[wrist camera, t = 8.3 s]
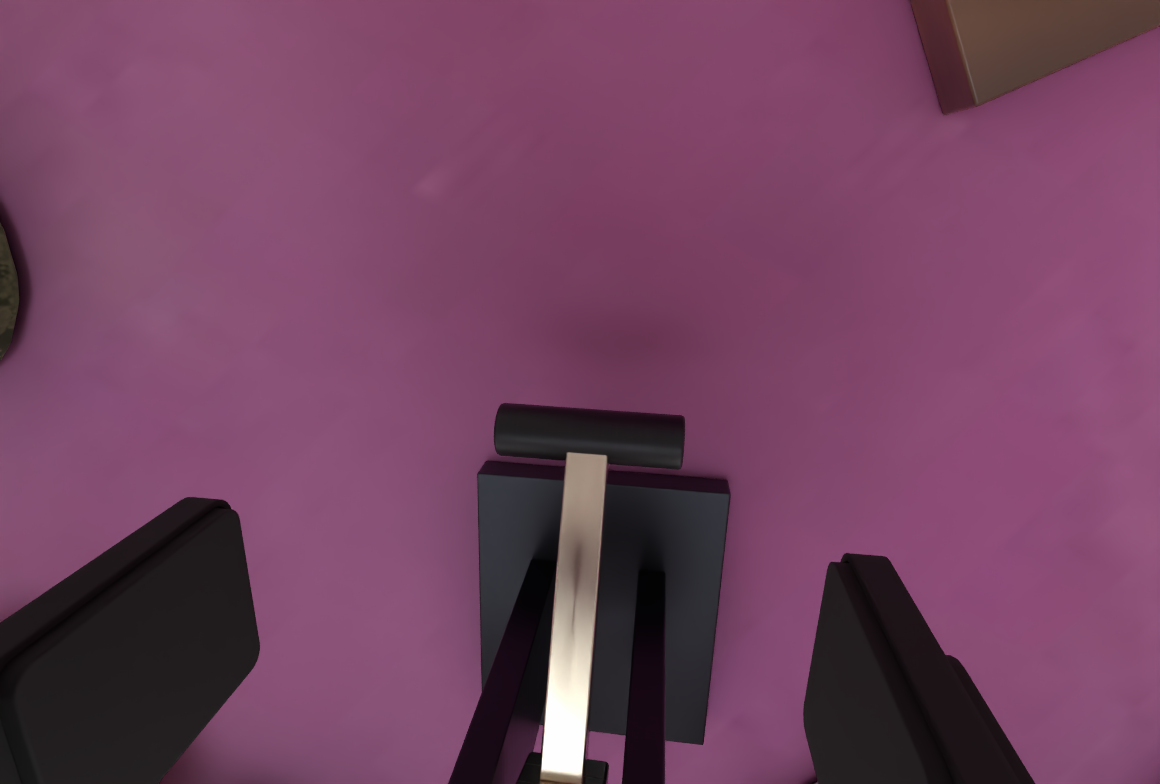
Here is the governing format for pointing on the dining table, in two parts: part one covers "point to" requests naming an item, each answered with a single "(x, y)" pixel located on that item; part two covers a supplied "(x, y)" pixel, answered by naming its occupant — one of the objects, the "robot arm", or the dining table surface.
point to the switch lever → (580, 556)
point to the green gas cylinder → (7, 294)
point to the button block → (1018, 41)
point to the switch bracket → (625, 615)
